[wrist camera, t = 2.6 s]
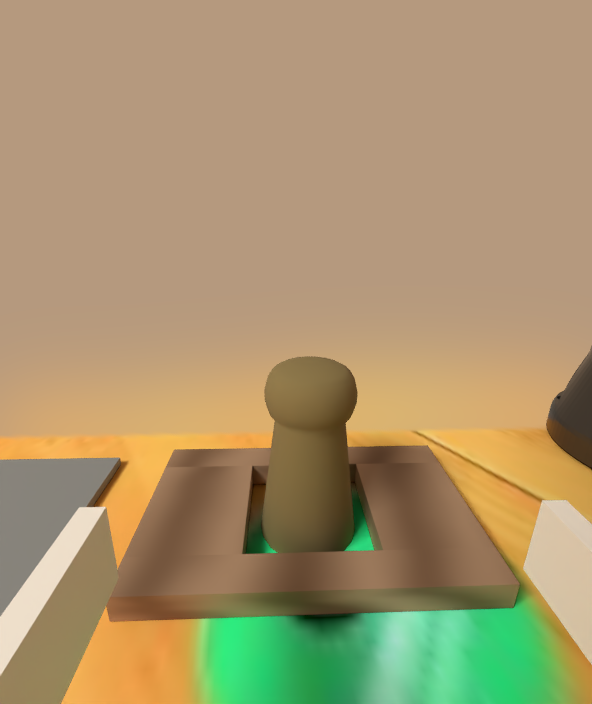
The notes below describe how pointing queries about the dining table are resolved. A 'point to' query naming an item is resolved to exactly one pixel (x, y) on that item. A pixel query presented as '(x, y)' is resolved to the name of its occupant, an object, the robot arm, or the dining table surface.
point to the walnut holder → (307, 567)
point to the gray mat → (41, 509)
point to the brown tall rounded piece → (309, 457)
